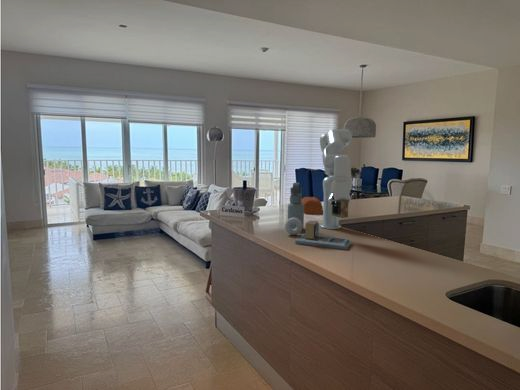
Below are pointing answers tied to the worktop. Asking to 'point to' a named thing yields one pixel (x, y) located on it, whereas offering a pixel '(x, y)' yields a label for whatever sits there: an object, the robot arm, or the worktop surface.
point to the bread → (312, 205)
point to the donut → (297, 229)
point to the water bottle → (296, 205)
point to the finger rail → (321, 238)
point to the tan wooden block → (341, 209)
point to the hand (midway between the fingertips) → (339, 212)
